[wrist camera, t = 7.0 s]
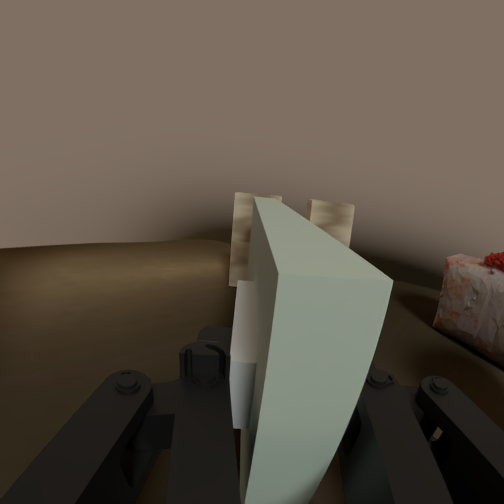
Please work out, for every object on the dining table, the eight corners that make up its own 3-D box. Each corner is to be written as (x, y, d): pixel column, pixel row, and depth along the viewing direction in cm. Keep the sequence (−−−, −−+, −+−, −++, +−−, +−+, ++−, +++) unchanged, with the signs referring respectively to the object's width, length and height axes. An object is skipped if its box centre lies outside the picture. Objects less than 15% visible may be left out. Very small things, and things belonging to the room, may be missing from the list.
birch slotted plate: (228, 285, 35) (235, 192, 32) (229, 279, 37) (236, 192, 35) (341, 293, 35) (354, 205, 33) (335, 286, 38) (347, 203, 35)
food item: (418, 325, 27) (439, 235, 25) (453, 314, 30) (471, 238, 27) (514, 384, 15) (555, 274, 12) (534, 359, 17) (564, 269, 15)
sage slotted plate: (289, 533, 7) (393, 280, 5) (238, 534, 7) (278, 273, 4) (263, 304, 30) (274, 198, 28) (244, 303, 30) (253, 196, 28)
